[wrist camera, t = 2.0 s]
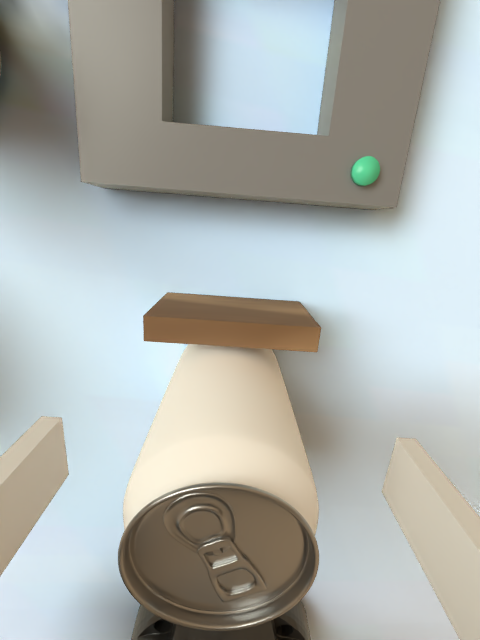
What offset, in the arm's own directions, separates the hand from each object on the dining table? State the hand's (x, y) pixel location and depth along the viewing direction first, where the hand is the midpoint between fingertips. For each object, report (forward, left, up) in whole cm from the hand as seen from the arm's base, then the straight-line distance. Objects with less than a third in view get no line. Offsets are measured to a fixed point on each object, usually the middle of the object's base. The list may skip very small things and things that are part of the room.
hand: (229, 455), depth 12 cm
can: (0, 0, -8) cm, 8 cm away
